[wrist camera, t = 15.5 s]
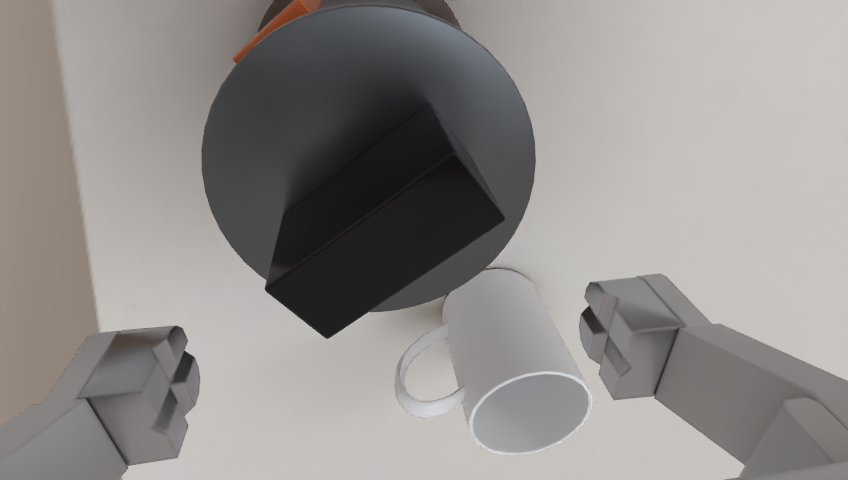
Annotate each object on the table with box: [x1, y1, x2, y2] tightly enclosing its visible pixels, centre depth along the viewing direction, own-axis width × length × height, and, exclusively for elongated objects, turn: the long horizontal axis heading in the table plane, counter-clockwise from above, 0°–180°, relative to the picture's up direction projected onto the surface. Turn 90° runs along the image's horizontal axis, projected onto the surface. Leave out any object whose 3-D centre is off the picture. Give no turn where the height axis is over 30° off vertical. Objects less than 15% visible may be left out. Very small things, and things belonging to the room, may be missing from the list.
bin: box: [202, 0, 536, 339], centre depth 19 cm, size 11×11×17 cm
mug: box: [395, 269, 593, 455], centre depth 33 cm, size 12×8×10 cm, turn 85°
